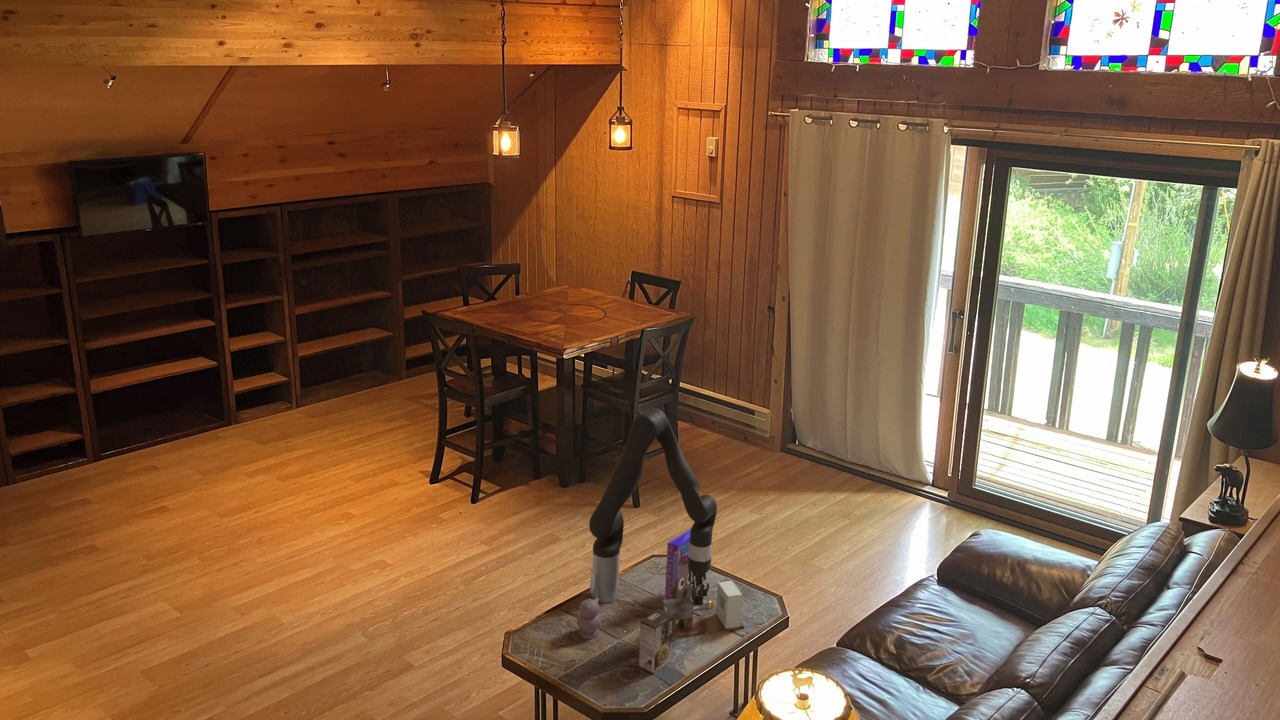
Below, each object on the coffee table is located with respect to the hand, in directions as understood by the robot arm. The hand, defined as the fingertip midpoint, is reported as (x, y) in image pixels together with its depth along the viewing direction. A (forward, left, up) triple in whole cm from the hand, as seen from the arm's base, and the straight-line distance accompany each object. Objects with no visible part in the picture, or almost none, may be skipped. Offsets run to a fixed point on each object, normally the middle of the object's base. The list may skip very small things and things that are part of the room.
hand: (697, 601), depth 328 cm
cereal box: (+3, +19, -10) cm, 22 cm away
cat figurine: (-35, +5, -10) cm, 37 cm away
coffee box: (-19, -16, -10) cm, 27 cm away
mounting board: (+2, 0, -10) cm, 10 cm away
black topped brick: (-3, 0, -3) cm, 4 cm away
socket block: (+11, 0, -10) cm, 15 cm away
